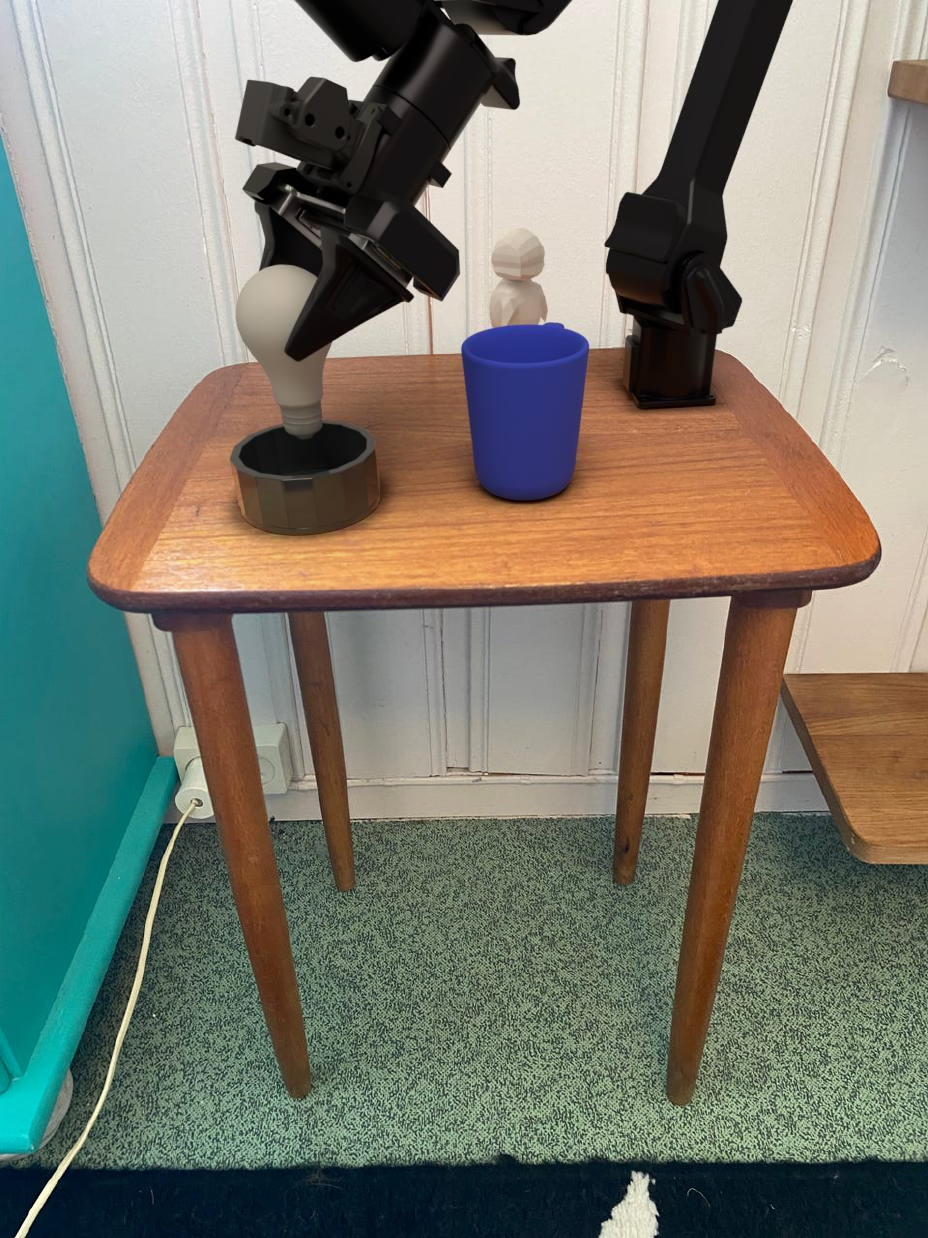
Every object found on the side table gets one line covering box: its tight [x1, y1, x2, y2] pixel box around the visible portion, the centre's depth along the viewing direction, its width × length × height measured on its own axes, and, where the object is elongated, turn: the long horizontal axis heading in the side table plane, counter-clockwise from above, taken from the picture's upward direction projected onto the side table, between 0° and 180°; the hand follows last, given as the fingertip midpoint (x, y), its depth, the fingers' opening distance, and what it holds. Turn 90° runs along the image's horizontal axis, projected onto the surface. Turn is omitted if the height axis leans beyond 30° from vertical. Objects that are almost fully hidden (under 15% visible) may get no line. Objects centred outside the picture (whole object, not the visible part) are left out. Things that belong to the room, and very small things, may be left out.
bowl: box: [229, 419, 381, 536], centre depth 62 cm, size 10×10×4 cm
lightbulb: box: [235, 265, 333, 439], centre depth 57 cm, size 6×6×11 cm
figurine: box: [488, 227, 549, 328], centre depth 81 cm, size 8×5×12 cm, turn 146°
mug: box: [460, 321, 590, 501], centre depth 63 cm, size 8×12×10 cm
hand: (269, 343), depth 56 cm, fingers closed on lightbulb, 6 cm apart
